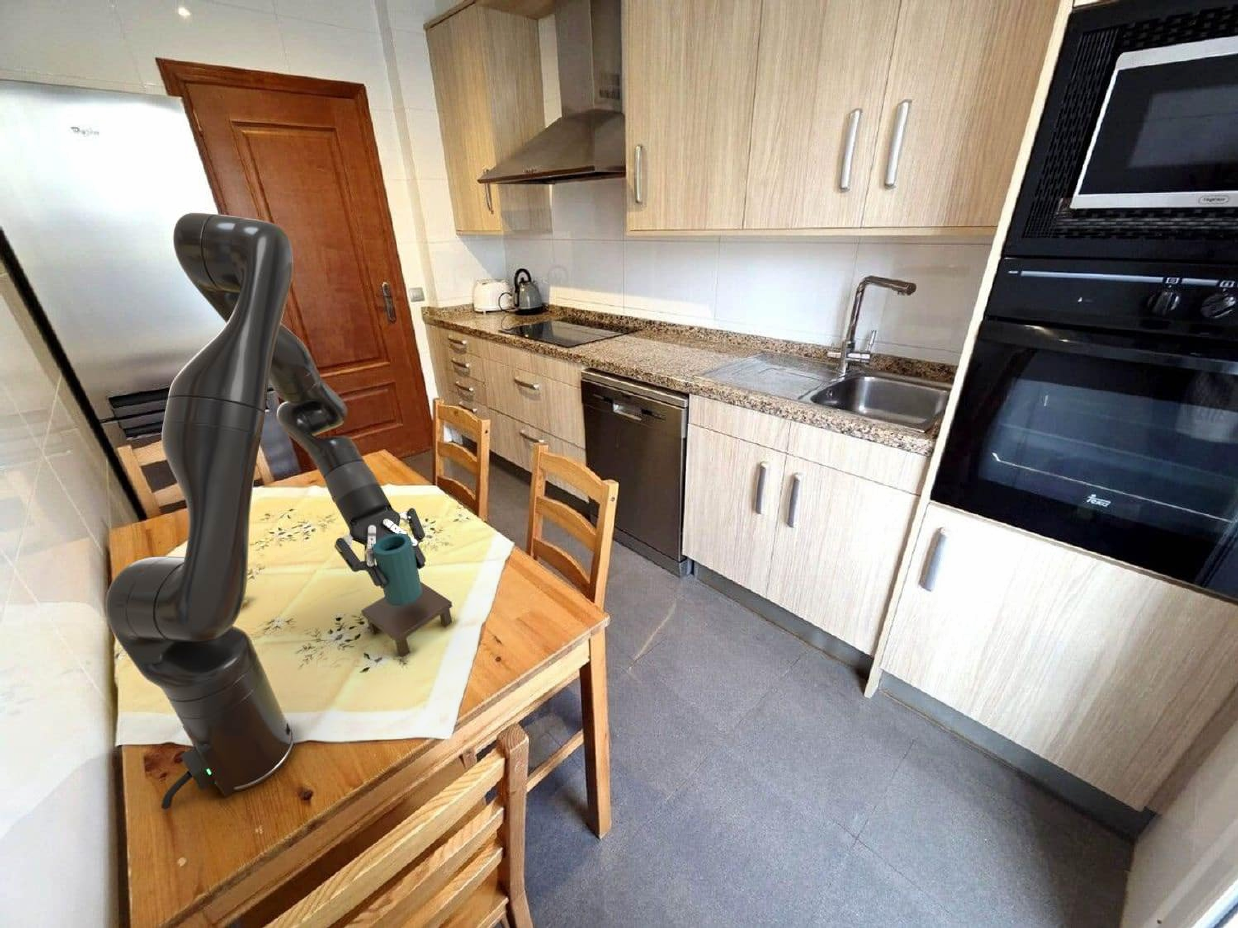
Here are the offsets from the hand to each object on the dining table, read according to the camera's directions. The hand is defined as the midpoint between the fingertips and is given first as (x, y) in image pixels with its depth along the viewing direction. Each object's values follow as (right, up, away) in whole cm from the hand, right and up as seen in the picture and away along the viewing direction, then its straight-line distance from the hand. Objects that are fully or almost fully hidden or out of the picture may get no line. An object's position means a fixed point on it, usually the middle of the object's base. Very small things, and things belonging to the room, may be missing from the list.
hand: (403, 576), depth 86 cm
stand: (-1, -11, +7) cm, 13 cm away
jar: (-1, -4, +3) cm, 5 cm away
